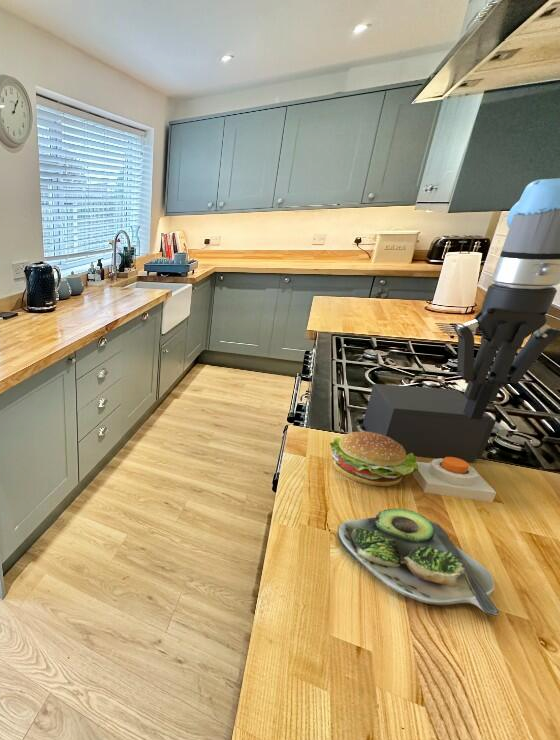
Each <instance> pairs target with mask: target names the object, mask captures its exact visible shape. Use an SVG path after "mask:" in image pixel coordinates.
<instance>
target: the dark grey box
mask: <svg viewBox="0 0 560 740" xmlns="http://www.w3.org/2000/svg"><path fill="white" fill-rule="evenodd" d="M467 401H468V399H467V398H466V397H465V396H464V393H462V392H461V391H459V390H458V389H451V388H440V387H439V388H438V387H437V388H436V387H423V386H411V385H410V386H409V385H398V384H397V385H396V384H381V383H373V384H372V386H371V391H370V395H369V399H368V401H367V405H366V410H365V414H364V418H363V422H362V426H363V427H364V429H365V430H366V432H372V433H377V434H381V435H384V436H386V437H389V438H391V439H393V440H395V441H396V442H397V443H399V444H400V445H402V446H403V448H404V449H405V451H406V455H408V454H410V453H413V455H414V457H415V458H425V459H432V460H433V459H439V458H442V459H444V458H445V457H455V458H459V459H462V460H464V461H466V462H467V463H468V464H474V463H475V461H476V459H477V458H476V456H477V453H478V451H479V448H480V446H481V443H482V441H483V438H484V436H485V433H486V430H487V428H488V425H489V423H490V420H491V418H493V417H492V416H491V415H490V414H489V413H487V412H486V411H485V412H484V414H483V417H482V419H481V420H479V419H471V418H469V417H468V416H467V415H466V414H465V413H464V412H463V411H464V409H465V406H466V403H467Z"/></svg>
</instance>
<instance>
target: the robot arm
mask: <svg viewBox="0 0 560 740" xmlns="http://www.w3.org/2000/svg"><path fill="white" fill-rule="evenodd" d="M506 218H507V219H506V225H507V228H508V231H507V234H506V237H505V240H504V242H503V246H502V249H501V251H500V255H498V256H499V257H498V259H497V262H496V265H495V266H494V270H493V272H492V276H491V278H490V280H491V281H492V282H494V283H491V284H490V285H488V286H487V289H486V293H485V296H484V298H483V301H482V305H481V310H480V311H479V312H478V313H477V314H476V315H475V316H474V318H473V319H472V320H470V321H468V322H465V323H459V322H458V323H455V325H454V326H453V329H454V331H455V333H456V335H457V337H458V338H457V364H456V365H457V367H456V368H457V369H456V373H457V375H458V376H460V377H461V378H462V379H463V380H465V381H468V382H467V385H466V388H465V391H464V393H463V395H464V396H465V397H466V398H467V399H468V401H467V403H466V406H465V409H464V411H463V412H464V413H465V414H466V415H467V416H468V417H469V418H471V419H479V420H481V419H482V417H483V414H484V412H486V409H487V407H488V404H489V402H492V403H494V402H495V401H496V399H497V397H498V395H499V392H500V390H501V388H505V387H507V385H508V384H518V383H519V382H520V381H521V380H522V379H523V377H524V376H525V375H526V373H528V371H529V369H531V368H532V366H533V365H534V364H535V362H536V361H537V360H538V358H539V357H540V356H541V355H542V353H543V352H544V351H545V349H546V348H547V347H548V346H549V344H550V343H552V342H554V341H555V340H557V339H558V338H559V337H560V330H559V329H557V328H554V327H552V326H550V325H548V324H547V321H548V319H547V315H546V314H547V312H548V311H550V309H551V306H552V304H553V301H554V299H555V297H556V295H557V292H558V290H557V288H556V287H555V286H557V285H559V284H560V177H557V178H544V179H536V180H533V181H531V182H530V183H529V184H527V185H526V187H525V188H524V190H523V192H522V194H521V196H520V199H519V200H518V201H517V202H515V204H514V205H512V207H511V208H510V210H509V212H508V214H507V217H506ZM477 329H478V331H479V332H480V334H481V338H480V345H479V347H478V350H477V354H476V356H475V337H474V335H477ZM532 334H533V335H532ZM531 335H532V336H531ZM529 336H530V337H529ZM528 337H529V338H528ZM527 338H528V340H527V341H526V343H525V344H524V345H523V343H524V341H525V339H527ZM519 349H520V350H519ZM518 350H519V352H518ZM486 379H487V380H486Z"/></svg>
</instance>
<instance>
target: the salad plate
mask: <svg viewBox="0 0 560 740" xmlns="http://www.w3.org/2000/svg"><path fill="white" fill-rule="evenodd" d="M337 538H338V540H339V543H340V544H341V546H342V547H343V548H344V550H345V551H346V552H347V553H348V555H350V556H351V557H352V558H353V559H355V560H357V561H358V562H359V563H360V564H361V565H362V566H363V567H364V568H365V569H366V570H368V572H369V573H371V574H372V575H373V576H374V577H377V579H378V580H380V581H382V582H383V583H384V584H385V585H386V586H388V587H389V588H391V590H393V591H395V592H397V593H399V594H401V595H403V596H405V597H407V598H409V599H412V600H415V601H417V602H420V603H424V604H426V605H432V606H439V607H441V606H448V605H449V606H450V605H455V604H470V605H474V606H476V607H477V608H479V609H480V610H481V611H482V612H484V613H486V614H487V615H490V616H493V617H494V616H495V617H498V616H499V614H500V612H499V610H498V608H497V607H496V605H495V604H494V602H493V601H492V600H491V597H489V596H490V595H491V594H493V592H494V591H495V580H494V577H493V575H492V573H491V571H489V570H488V569H487V568H486V567H485V566H484V565H483V564H481V563H480V562H479V561H477V560H476V559H475V558H473V557H471V556H470V555H468V554H467V553H466V552H465V551H463V550H462V549H460V548H459V547H457V546H456V545H455V544H454V543H453V542H452V540H451V539H450V535H448V533H447V532H446V530H445V529H443V527H441V526H440V524H438V523H436V522H434V521H432V520H429V519H428V518H427V517H426V516H424V515H422V514H420V513H418V512H416V511H413V510H410V509H409V510H408V509H406V508H405V509H404V508H388V509H384V510H380V511H379V512H378V513H377V514H375V517H368V518H359V519H349V520H345V521H343V522H341V523H340V524H339V526H338V527H337ZM433 604H434V605H433Z"/></svg>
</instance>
